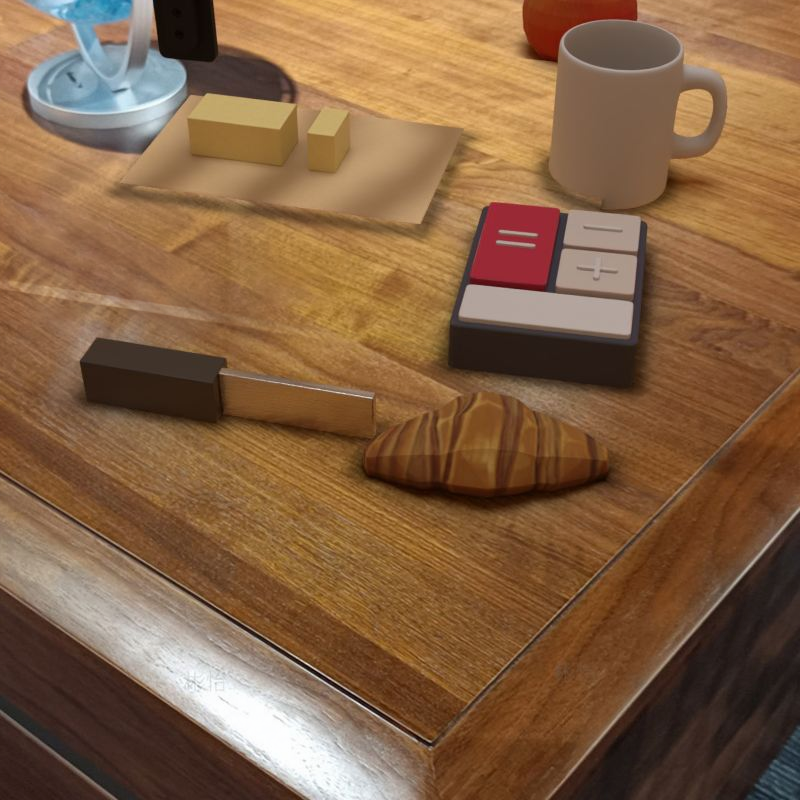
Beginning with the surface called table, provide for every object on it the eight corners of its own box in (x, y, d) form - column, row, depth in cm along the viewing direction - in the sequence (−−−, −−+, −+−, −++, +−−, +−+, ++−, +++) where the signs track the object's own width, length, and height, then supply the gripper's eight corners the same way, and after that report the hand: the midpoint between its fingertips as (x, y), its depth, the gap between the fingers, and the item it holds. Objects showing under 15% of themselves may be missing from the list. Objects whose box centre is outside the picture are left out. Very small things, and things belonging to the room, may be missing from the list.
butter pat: (308, 170, 97) (306, 132, 95) (324, 143, 100) (323, 106, 98) (335, 173, 97) (334, 136, 95) (350, 147, 100) (349, 110, 98)
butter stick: (190, 154, 99) (186, 117, 97) (210, 129, 102) (206, 92, 100) (282, 166, 98) (279, 129, 96) (298, 140, 101) (296, 103, 99)
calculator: (649, 209, 89) (639, 334, 77) (642, 266, 91) (631, 395, 80) (483, 193, 90) (448, 313, 79) (480, 249, 93) (446, 373, 81)
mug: (548, 215, 95) (561, 70, 88) (545, 155, 102) (556, 16, 95) (720, 220, 95) (746, 75, 88) (705, 160, 101) (728, 20, 94)
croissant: (601, 437, 77) (610, 367, 74) (614, 520, 72) (624, 450, 69) (364, 433, 77) (362, 364, 74) (359, 517, 72) (357, 446, 69)
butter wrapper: (121, 200, 97) (118, 182, 96) (192, 111, 107) (190, 94, 106) (420, 242, 93) (420, 223, 92) (463, 145, 103) (464, 127, 102)
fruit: (637, 41, 117) (651, -74, 111) (626, 90, 110) (640, -30, 104) (528, 30, 119) (535, -84, 113) (510, 78, 112) (517, -41, 106)
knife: (87, 409, 79) (78, 361, 76) (104, 384, 81) (96, 336, 78) (369, 458, 75) (368, 408, 73) (380, 431, 77) (380, 382, 75)
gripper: (174, -349, 74) (205, -40, 84) (40, -271, 61) (98, 82, 71) (307, -344, 72) (322, -31, 83) (199, -264, 59) (233, 95, 70)
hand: (218, 21), depth 77 cm, fingers open, 9 cm apart
